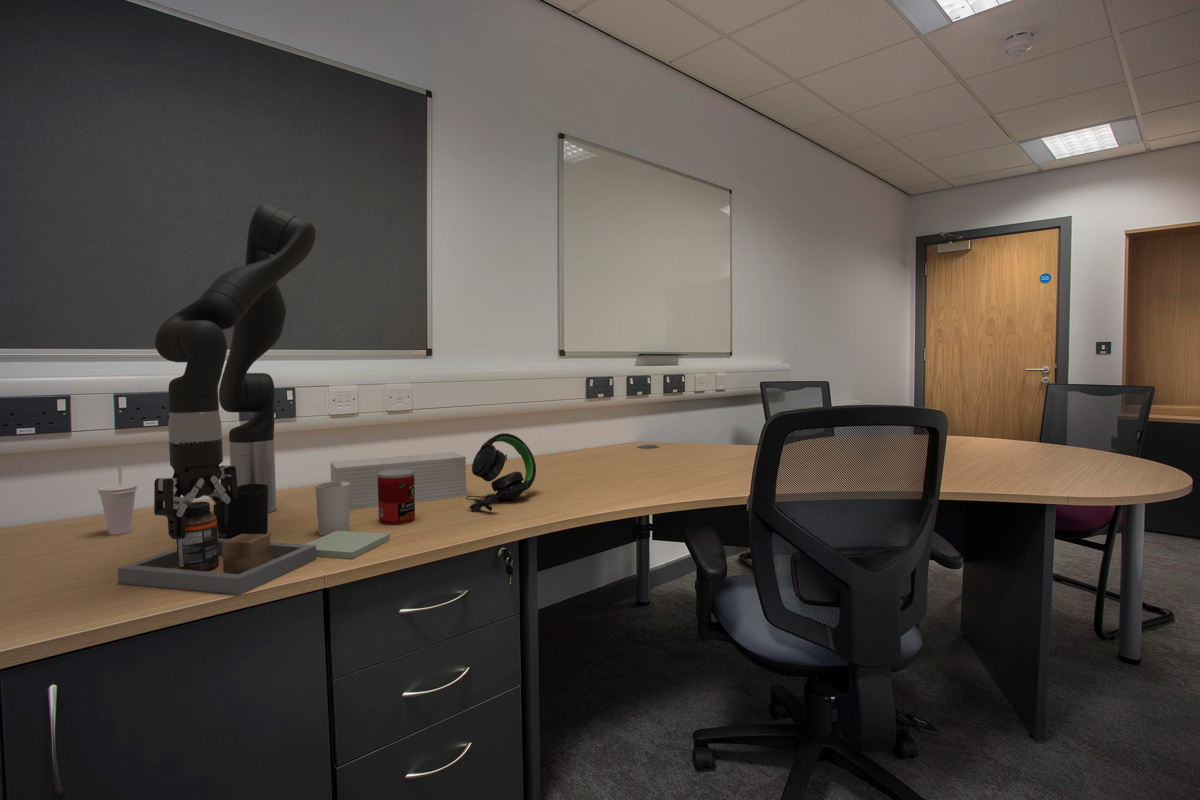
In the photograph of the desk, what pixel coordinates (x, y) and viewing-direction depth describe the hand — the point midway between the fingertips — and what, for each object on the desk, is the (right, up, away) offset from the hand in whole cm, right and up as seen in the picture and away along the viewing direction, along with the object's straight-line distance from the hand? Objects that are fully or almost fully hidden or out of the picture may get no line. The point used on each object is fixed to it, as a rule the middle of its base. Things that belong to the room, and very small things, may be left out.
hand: (200, 531), depth 102 cm
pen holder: (-4, -6, +20) cm, 21 cm away
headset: (+45, -4, +50) cm, 67 cm away
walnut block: (+9, -7, -2) cm, 11 cm away
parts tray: (+4, -7, -1) cm, 8 cm away
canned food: (+23, -5, +32) cm, 40 cm away
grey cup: (+13, -5, +23) cm, 27 cm away
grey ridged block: (+17, -4, +54) cm, 56 cm away
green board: (+20, -6, +12) cm, 24 cm away
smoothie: (-32, -5, +23) cm, 40 cm away
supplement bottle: (-1, -7, 0) cm, 7 cm away
